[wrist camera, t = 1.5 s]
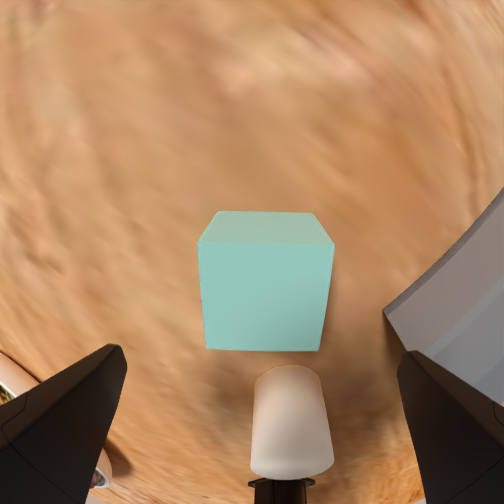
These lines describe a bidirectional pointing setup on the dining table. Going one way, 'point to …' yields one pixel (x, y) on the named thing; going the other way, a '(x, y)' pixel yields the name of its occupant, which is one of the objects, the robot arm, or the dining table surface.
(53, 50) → the dining table surface
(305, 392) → the white cylinder
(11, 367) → the bowl
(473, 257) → the tote
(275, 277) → the teal cube
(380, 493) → the dining table surface
